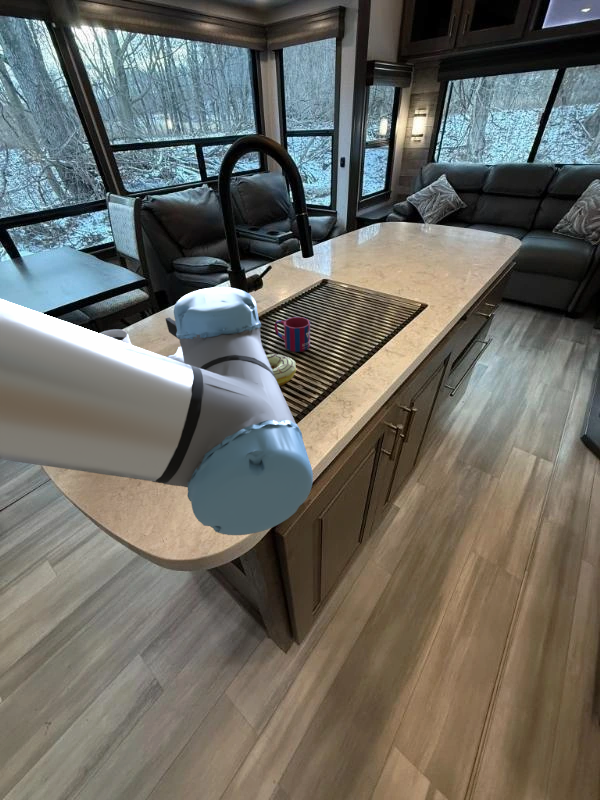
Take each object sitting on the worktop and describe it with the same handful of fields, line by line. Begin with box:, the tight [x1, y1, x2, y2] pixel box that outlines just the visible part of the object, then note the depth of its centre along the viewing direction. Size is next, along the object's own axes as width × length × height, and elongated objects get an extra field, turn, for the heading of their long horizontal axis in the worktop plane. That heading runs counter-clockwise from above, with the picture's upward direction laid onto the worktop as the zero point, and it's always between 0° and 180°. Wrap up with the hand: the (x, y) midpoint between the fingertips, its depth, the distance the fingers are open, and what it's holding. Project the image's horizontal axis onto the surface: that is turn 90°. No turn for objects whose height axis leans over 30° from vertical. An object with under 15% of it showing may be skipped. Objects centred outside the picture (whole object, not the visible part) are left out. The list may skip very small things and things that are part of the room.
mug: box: [274, 316, 311, 353], centre depth 88 cm, size 7×10×7 cm
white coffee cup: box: [99, 329, 132, 345], centre depth 68 cm, size 7×7×10 cm
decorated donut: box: [266, 353, 297, 386], centre depth 77 cm, size 10×11×4 cm
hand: (131, 337), depth 57 cm, fingers open, 13 cm apart
